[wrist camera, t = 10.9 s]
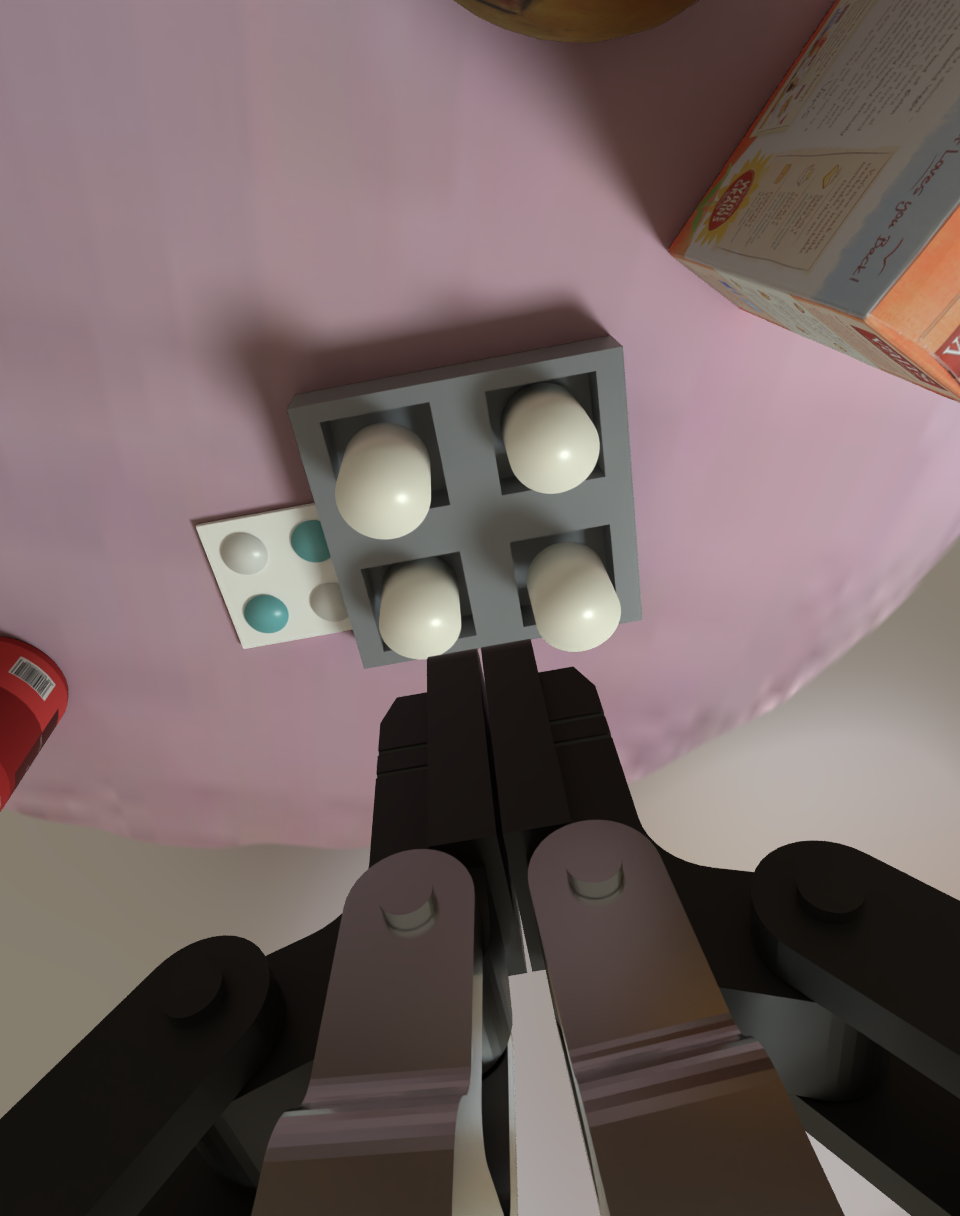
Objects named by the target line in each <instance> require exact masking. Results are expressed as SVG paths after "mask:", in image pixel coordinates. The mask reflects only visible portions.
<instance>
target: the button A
mask: <svg viewBox="0 0 960 1216" xmlns="http://www.w3.org/2000/svg"><path fill="white" fill-rule="evenodd" d="M335 500H336V504H337V507H338V510H339V512H340V514H341V516H342V517H343V519H344V520H345V521H346V522H347V524H348V525H349V526H351V527H352V528H353V529H354V530H356V531H357V532H359V533H361V534H363V535H365V536H368V537H371V538H375V539H395V538H399V537H402V536H404V535H407V534H408V533H410V532H412V531H413V530H415V529H416V528H417V527H418V526H419V525H420V524H421V523H422V522H423V520H424V519H425V517H426V515H427V513H428V511H429V507H430V503H431V469H430V457H429V453H428V451H427V448H426V446H425V444H424V443H423V441H422V440H421V439H420V438H419V437H418V436H417V435H416V434H415V433H414V432H413V431H411V430H410V429H408V428H406V427H404V426H402V425H399V424H395V423H387V422H382V423H376V424H372V425H369V426H367V427H365V428H363V429H361V430H360V431H359V432H357V433H356V434H355V435H354V436H353V437H352V439H351V440H350V441H349V443H348V445H347V447H346V450H345V453H344V456H343V460H342V464H341V467H340V471H339V474H338V478H337V482H336V486H335Z"/></svg>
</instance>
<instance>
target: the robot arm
mask: <svg viewBox="0 0 960 1216" xmlns="http://www.w3.org/2000/svg"><path fill="white" fill-rule="evenodd" d="M481 652H482V661H483V669H484V677H483V672H482V667H481V662H480V657H479V653H478V650H477V648H476V649H470V650H464V651H459V652H453V653H447V654H442V655H436V656H430V657H428V658H427V692H426V693H421V694H415V695H409V696H403V697H398V698H396V700H395V701H394V703H393V704H392V706H391V708H390V709H389V711H388V712H387V714H386V715H385V717H384V719H383V720H382V722H381V723H380V736H379V748H378V751H379V756H378V761H377V779H376V786H375V799H374V812H373V824H372V837H371V850H370V863H369V869H368V870H367V871H366V872H365V873H364V874H363V875H362V876H361V877H360V878H359V879H358V880H357V881H356V883H355V884H354V886H353V887H352V888H351V890H350V892H349V894H348V896H347V898H346V901H345V905H344V909H343V913H342V914H341V915H340V916H339V917H338V918H336V919H335V920H334V921H333V922H331V923H330V924H328V925H327V926H326V927H324V928H323V929H321V930H319V931H317V932H315V933H313V934H311V935H310V936H307V937H305V938H303V939H301V940H299V941H297V942H294V943H292V944H290V945H288V946H286V947H284V948H282V949H279V950H277V951H275V952H273V953H271V954H269V955H267V956H265V955H264V954H263V953H262V951H261V950H260V948H259V947H258V946H256V945H255V944H254V943H252V942H251V941H249V940H247V939H245V938H240V937H237V936H216V937H211V938H207V939H203V940H200V941H197V942H195V943H192V944H190V945H188V946H186V947H184V948H183V949H181V950H179V951H177V952H176V953H174V954H173V955H171V956H170V957H169V958H167V959H166V960H165V961H164V962H162V963H161V964H160V965H159V966H158V967H157V968H156V969H155V970H154V971H153V972H152V973H150V975H149V976H148V977H146V978H145V979H144V980H143V981H142V982H141V983H140V984H139V985H138V986H137V987H136V988H135V989H134V990H133V991H132V992H131V993H130V994H129V995H128V996H127V997H126V998H125V999H124V1000H123V1001H122V1002H121V1003H120V1004H119V1005H118V1006H117V1007H115V1008H114V1010H112V1011H111V1012H110V1013H109V1014H108V1015H107V1016H106V1017H105V1018H104V1019H103V1020H102V1021H101V1022H100V1023H99V1024H98V1025H97V1026H96V1027H95V1028H94V1029H93V1030H92V1031H91V1032H90V1033H89V1034H88V1035H87V1036H86V1037H85V1038H84V1039H82V1040H81V1041H80V1043H78V1044H77V1045H76V1046H75V1047H74V1048H73V1049H72V1050H71V1051H70V1052H69V1053H68V1054H67V1055H66V1056H65V1057H64V1058H63V1059H62V1060H61V1061H60V1062H59V1063H58V1064H57V1065H56V1066H55V1067H54V1068H53V1069H52V1070H51V1071H50V1072H48V1074H46V1075H45V1076H44V1077H43V1078H42V1079H41V1080H40V1081H39V1082H38V1083H37V1084H36V1085H35V1086H34V1087H33V1088H32V1089H31V1090H30V1091H29V1092H28V1093H27V1094H26V1095H25V1096H24V1097H23V1098H22V1099H21V1100H20V1101H19V1102H17V1104H16V1105H14V1107H12V1108H11V1109H10V1110H9V1111H8V1112H7V1113H6V1114H5V1115H4V1116H3V1117H2V1118H1V1119H0V1216H518V1194H517V1157H516V1156H517V1155H516V1117H515V1079H514V1046H513V1038H512V1033H511V1029H512V1008H511V999H510V990H509V979H508V976H511V975H516V974H523V973H527V970H526V961H525V953H524V945H523V938H522V930H521V922H520V916H521V920H522V925H523V930H524V934H525V939H526V944H527V948H528V953H529V957H530V962H531V967H532V971H539V970H545V969H546V974H547V979H548V984H549V988H550V994H551V999H552V1003H553V1008H554V1013H555V1019H556V1024H557V1028H558V1034H559V1038H560V1043H561V1047H562V1052H563V1056H564V1060H565V1064H566V1069H567V1073H568V1077H569V1082H570V1086H571V1090H572V1095H573V1099H574V1103H575V1107H576V1112H577V1116H578V1120H579V1125H580V1129H581V1133H582V1137H583V1142H584V1146H585V1150H586V1155H587V1159H588V1163H589V1167H590V1172H591V1176H592V1180H593V1185H594V1189H595V1193H596V1197H597V1202H598V1206H599V1211H600V1215H601V1216H845V1215H844V1213H843V1211H842V1209H841V1207H840V1205H839V1203H838V1201H837V1198H836V1196H835V1194H834V1192H833V1190H832V1188H831V1185H830V1183H829V1181H828V1179H827V1177H826V1175H825V1173H824V1170H823V1168H822V1166H821V1164H820V1162H819V1160H818V1158H817V1156H816V1153H815V1151H814V1149H813V1147H812V1145H811V1143H810V1141H809V1139H808V1136H807V1134H806V1132H807V1133H809V1134H810V1135H811V1136H812V1137H814V1138H815V1139H816V1140H817V1141H819V1142H820V1143H821V1144H822V1145H824V1146H825V1147H826V1148H827V1149H829V1150H830V1151H831V1152H833V1153H834V1154H835V1155H836V1156H837V1157H839V1158H840V1159H841V1160H843V1161H844V1162H845V1163H846V1164H848V1165H849V1166H850V1167H851V1168H852V1169H854V1170H855V1171H856V1172H857V1173H859V1174H860V1175H861V1176H863V1177H864V1178H865V1179H866V1180H867V1181H869V1182H870V1183H871V1184H873V1185H874V1186H875V1187H876V1188H877V1189H879V1190H880V1191H881V1192H882V1193H884V1194H885V1195H886V1196H888V1197H889V1198H890V1199H891V1200H892V1201H894V1202H895V1203H896V1204H897V1205H899V1206H900V1207H901V1208H902V1209H904V1210H905V1211H906V1212H907V1213H909V1214H910V1215H911V1216H960V901H959V900H957V899H955V898H953V897H951V896H949V895H947V894H945V893H943V892H941V891H939V890H937V889H935V888H933V887H931V886H929V885H927V884H925V883H923V882H921V881H919V880H917V879H915V878H913V877H911V876H909V875H908V874H906V873H904V872H901V871H899V870H898V869H896V868H894V867H892V866H890V865H888V864H886V863H884V862H882V861H880V860H878V859H876V858H874V857H872V856H870V855H868V854H866V853H864V852H861V851H859V850H857V849H855V848H852V847H849V846H845V845H842V844H838V843H833V842H827V841H800V842H795V843H791V844H787V845H785V846H782V847H779V848H777V849H776V850H774V851H772V852H771V853H769V854H768V855H767V856H766V857H765V858H764V859H762V861H761V862H760V863H759V865H758V866H757V868H756V869H755V872H747V871H738V870H729V869H719V868H711V867H706V866H700V865H697V864H693V863H690V862H687V861H684V860H682V859H679V858H677V857H675V856H673V855H672V854H670V853H668V852H666V851H665V850H663V849H662V848H661V847H660V846H658V845H657V844H656V843H655V842H654V841H653V840H652V839H651V838H650V837H649V836H648V835H647V833H646V832H645V830H644V829H643V827H642V825H641V823H640V820H639V818H638V815H637V812H636V809H635V806H634V803H633V800H632V797H631V794H630V791H629V788H628V785H627V782H626V778H625V775H624V772H623V769H622V766H621V763H620V760H619V757H618V754H617V751H616V748H615V745H614V742H613V739H612V738H611V733H610V730H609V727H608V724H607V721H606V718H605V716H604V712H603V708H602V705H601V702H600V699H599V696H598V693H597V690H596V687H595V685H594V684H592V683H591V682H590V681H589V680H588V679H587V678H586V677H585V676H583V675H582V674H581V673H580V672H579V671H578V670H577V669H575V668H574V667H568V668H562V669H557V670H551V671H545V672H540V673H538V670H537V665H536V661H535V656H534V652H533V647H532V643H531V639H526V640H520V641H514V642H509V643H503V644H497V645H492V646H486V647H481ZM484 678H485V682H484ZM485 686H486V687H485ZM519 911H520V914H519ZM805 1131H806V1132H805Z"/></svg>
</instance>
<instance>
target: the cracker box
mask: <svg viewBox="0 0 960 1216" xmlns="http://www.w3.org/2000/svg"><path fill="white" fill-rule="evenodd" d="M668 252H669V253H670V255H672V256H673V257H674V258H675V259H677V260H678V261H679V262H680V263H682V264H683V265H684V266H686V267H687V268H688V269H689V270H691V271H692V272H693V273H695V274H696V275H697V276H698V277H700V278H701V279H702V280H704V281H705V282H706V283H707V284H709V285H710V286H711V287H713V288H714V289H715V290H717V291H718V292H719V293H720V294H722V295H723V296H724V297H726V298H727V299H728V300H730V301H731V302H732V303H733V304H735V305H736V306H737V307H738V308H740V309H742V310H744V311H746V312H748V313H751V314H753V315H756V316H758V317H760V318H763V319H765V320H767V321H768V322H771V323H773V324H776V325H778V326H780V327H782V328H785V329H787V330H789V331H792V332H794V333H796V334H799V335H801V336H803V337H806V338H808V339H811V340H813V341H816V342H818V343H820V344H823V345H825V346H827V347H830V348H832V349H834V350H837V351H839V352H841V353H844V354H846V355H848V356H851V357H853V358H855V359H857V360H859V361H862V362H864V363H866V364H868V365H871V366H873V367H875V368H878V369H880V370H882V371H885V372H887V373H889V374H891V375H894V376H897V377H899V378H902V379H904V380H906V381H909V382H911V383H914V384H916V385H919V386H921V387H923V388H925V389H928V390H930V391H932V392H935V393H937V394H939V395H942V396H944V397H947V398H949V399H952V400H954V401H957V402H959V403H960V0H836V1H835V3H834V4H833V6H832V7H831V9H830V10H829V12H828V13H827V15H826V16H825V18H824V19H823V21H822V22H821V24H820V25H819V26H818V28H817V29H816V31H815V32H814V34H813V35H812V37H811V38H810V40H809V41H808V43H807V44H806V46H805V47H804V49H803V50H802V52H801V53H800V54H799V56H798V57H797V59H796V60H795V62H794V63H793V65H792V66H791V68H790V69H789V71H788V72H787V74H786V75H785V77H784V78H783V80H782V81H781V83H780V84H779V86H778V87H777V89H776V90H775V92H774V93H773V95H772V96H771V98H770V99H769V101H768V102H767V104H766V105H765V107H764V108H763V110H762V111H761V113H760V114H759V116H758V117H757V119H756V120H755V122H754V123H753V124H752V126H751V127H750V129H749V130H748V132H747V133H746V135H745V136H744V138H743V139H742V141H741V142H740V144H739V145H738V147H737V148H736V149H735V151H734V152H733V154H732V155H731V157H730V158H729V160H728V161H727V163H726V164H725V166H724V167H723V169H722V170H721V172H720V173H719V175H718V176H717V178H716V179H715V181H714V182H713V184H712V185H711V187H710V188H709V190H708V191H707V193H706V194H705V195H704V197H703V198H702V200H701V201H700V203H699V204H698V206H697V208H696V209H695V211H694V212H693V213H692V215H691V216H690V218H689V219H688V221H687V222H686V224H685V225H684V227H683V228H682V230H681V231H680V233H679V234H678V236H677V237H676V238H675V240H674V241H673V243H672V245H671V246H670V248H669V250H668Z"/></svg>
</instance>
